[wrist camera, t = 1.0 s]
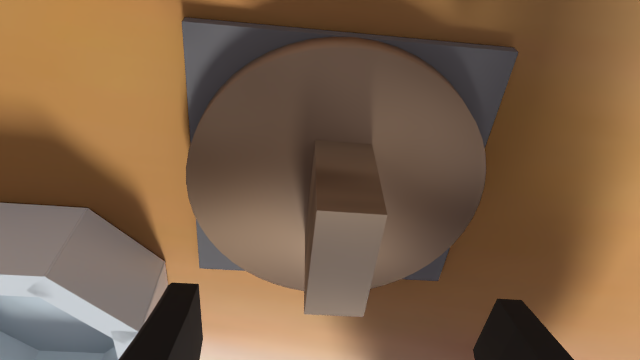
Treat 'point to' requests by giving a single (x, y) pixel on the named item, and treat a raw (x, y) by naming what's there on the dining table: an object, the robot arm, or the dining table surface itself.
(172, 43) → the dining table surface
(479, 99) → the mat
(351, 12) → the dining table surface
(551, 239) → the dining table surface
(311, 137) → the lid
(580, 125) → the dining table surface
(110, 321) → the bowl
